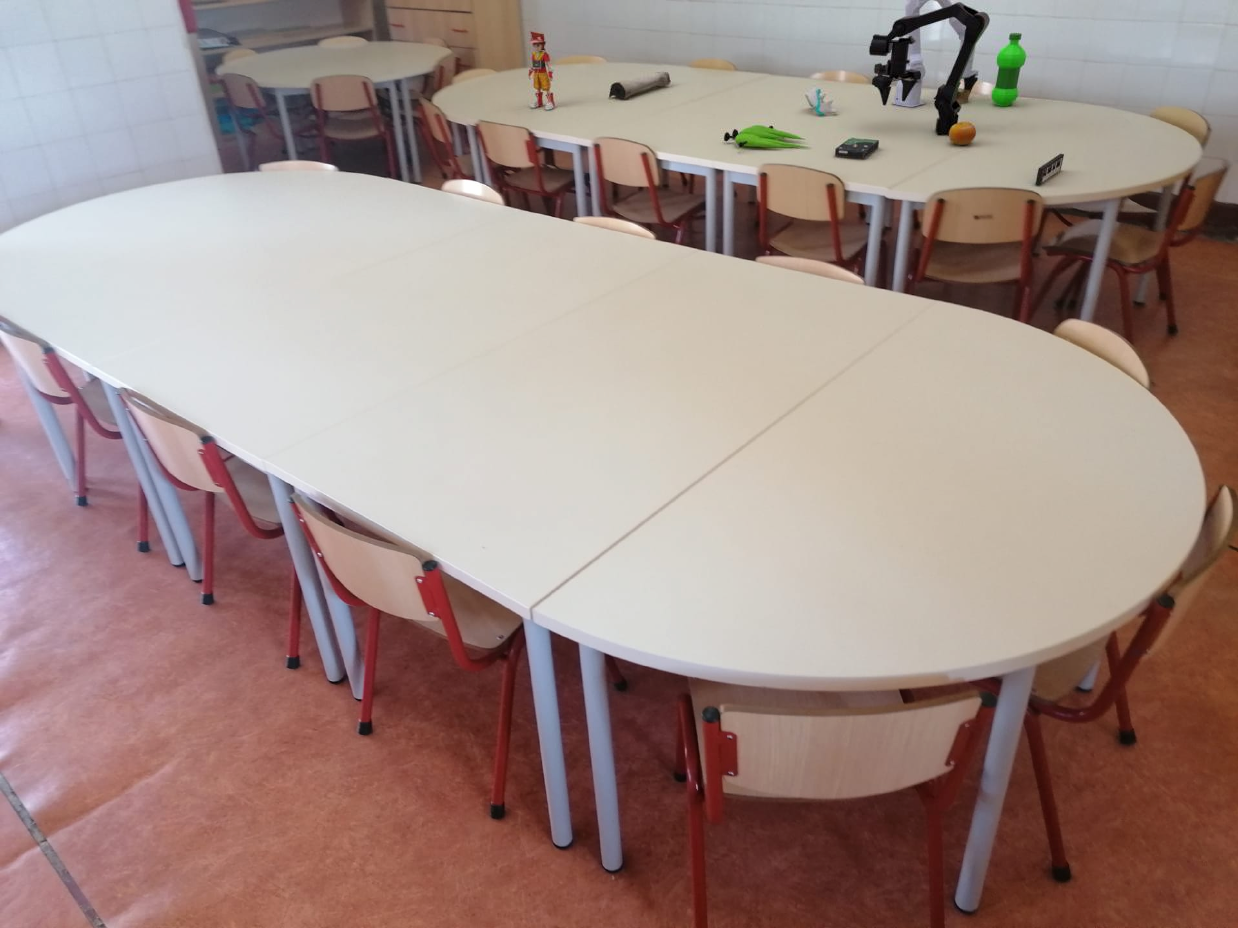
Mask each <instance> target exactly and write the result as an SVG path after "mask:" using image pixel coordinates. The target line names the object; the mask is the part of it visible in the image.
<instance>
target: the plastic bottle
mask: <svg viewBox="0 0 1238 928" xmlns="http://www.w3.org/2000/svg"><path fill="white" fill-rule="evenodd" d="M1008 40H1009V43H1008V44H1007V45H1006V46H1004V47H1003V48H1002V49H1000V50H999V52H998V53H997V55H996V65H997V67H998V69H997V75H996V81H995V82H996V83H995V86H994V87H993V89H992V90H991V100H992V102H993V103H994V104H995V105H996V106H998V107H1009V106H1011V105H1012V104H1013V103H1014V102H1016V100H1017V99H1018V96H1019V90H1018V83H1019V79H1020V78H1019V77H1020V74H1021V73H1020V72H1021V68H1022V67H1023V66H1024V65H1025V63H1026V59H1027V54H1026V53H1027V52H1026V50H1025V49H1024V48H1023V47H1022V46H1021V45H1020V43H1019V42H1020V41H1021V40H1022V33H1020V32H1011V33H1009V37H1008Z"/></svg>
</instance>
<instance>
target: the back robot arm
mask: <svg viewBox="0 0 1238 928" xmlns="http://www.w3.org/2000/svg"><path fill="white" fill-rule="evenodd" d="M929 1H930V0H906V2H905V7H904V8H905V9H904V10H905V12H904V13H905V17H906V16H913V15H921V13H920V10H921V9H922V8H923V7H924V6H925V5H926V3H928V2H929ZM933 1H935V2H937V4H938V5H939V6H940V7H941V8H944V7H947V6H950V5H953V4H954V3H953V2H952V1H951V0H933ZM948 24H949V25H950V26H951V28H952V29H953V31H954V32H955V33H956V35H957V36H958V40H960V42H959V43H960V45H959V49H958V53H959V52H960V49H961V47H962V45H963V42H964V36H965V30H966V26H965V25H963V24H962V23H960V22H959V21H958V20H957V19H956V18H954V17H951V18H948ZM909 36H912V37H913V39H914V40H915V41H916V42H915V43H913V44H909V50H908V58H907V60H910V63H908V64H907V66H906V70H908V69H914V70H918V71H920V72H921V79H920V80H918V82H917V83H916V84H915V85H914V87H913V88H912V90H911V91H910V93H909V95H908V96H907V98H906V100H905V101H902V89H903V84H902V82H901V80H898V81H897V83H896V86H895V93H894V98H893V99H894V101H893V102H892V104H893V105H898V106H903V107H908V108H914V107H918V106H921V105H925V102H924V101H921V95H922V88H923V81H924V78H925V75H926V68H925V66H924V63H923V62H924V61H923V57H922V53H921V52H922V51H921V49H922V48H921V27H920V28H918V29H916V30H914V31H913V32H911V33H909V34H907V35H905V38H908V37H909ZM975 52H976V46H975V47H974V50H973V52H972V54H971V57H970V59H969V61H968V64H967V66H966V68H965V71H964V73H963V75H962V78H961V80H963V89H966V90H970V93H969V96H970V95H971V93H972V90H973V89H974V87H975V85H976V83H977V82H978V80H979V77H978V76H979V70H976V69H974V70H973V63H974V59H975ZM949 76H950V74H949V75H947V78H946V79H947V80H946V82H947V81H948V78H949ZM961 83H962V82H961V81H960V83H959V86H958V89H959V88H960V86H961Z"/></svg>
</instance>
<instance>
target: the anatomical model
mask: <svg viewBox="0 0 1238 928" xmlns="http://www.w3.org/2000/svg"><path fill="white" fill-rule="evenodd" d="M821 93H822V91H821V89H820V88H819V87H818V86H817V85H815V86H813V88H812V90H810V91H807V92H805V93H804V94H805V95H804V97H805V98H806V100H807V102H808V104H809V106H810V107H811V108H813V109H815V112H816V114H817V115H818V116H825V115H827V114H834V115H835V114H837V112H838V110H837V109H833V108H832V107H831V106H832V104H833V103H834V100H833V99H830V100H827V101H826V102H825V101H824V98H825V97H826V95H827V94H826V93H823V94H822V95H820V94H821Z"/></svg>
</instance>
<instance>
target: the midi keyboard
mask: <svg viewBox="0 0 1238 928" xmlns="http://www.w3.org/2000/svg"><path fill="white" fill-rule="evenodd" d="M1064 157H1065V153H1059V154H1058V155H1056V156H1055V157H1052V159H1051V160H1049V161H1047V162H1045V164H1042V165H1041V166H1039V167H1038V169H1037V175H1036V179H1035V186H1040V185H1042V183H1044V182H1045V181H1047V180H1048V179H1049V178H1051V177H1052V176H1054V175H1055V174H1056V173H1058V172H1060V171H1061V170H1062V165H1063V161H1064Z"/></svg>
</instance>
